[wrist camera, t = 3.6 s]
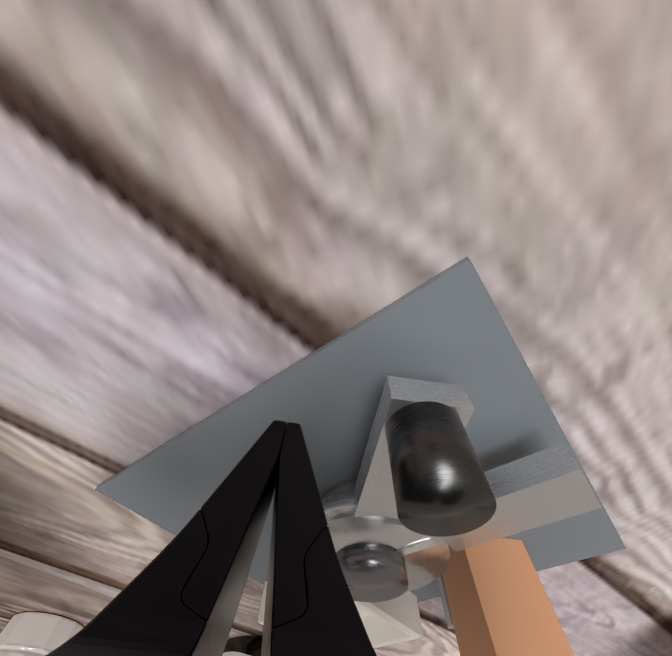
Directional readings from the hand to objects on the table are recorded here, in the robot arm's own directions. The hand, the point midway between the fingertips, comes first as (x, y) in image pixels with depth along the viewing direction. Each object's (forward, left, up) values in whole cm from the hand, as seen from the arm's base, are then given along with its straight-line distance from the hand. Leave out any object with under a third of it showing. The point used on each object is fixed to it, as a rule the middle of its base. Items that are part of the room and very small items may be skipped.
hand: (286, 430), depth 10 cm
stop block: (0, -19, -4) cm, 19 cm away
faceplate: (-4, -11, -4) cm, 13 cm away
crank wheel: (0, -8, -2) cm, 8 cm away
